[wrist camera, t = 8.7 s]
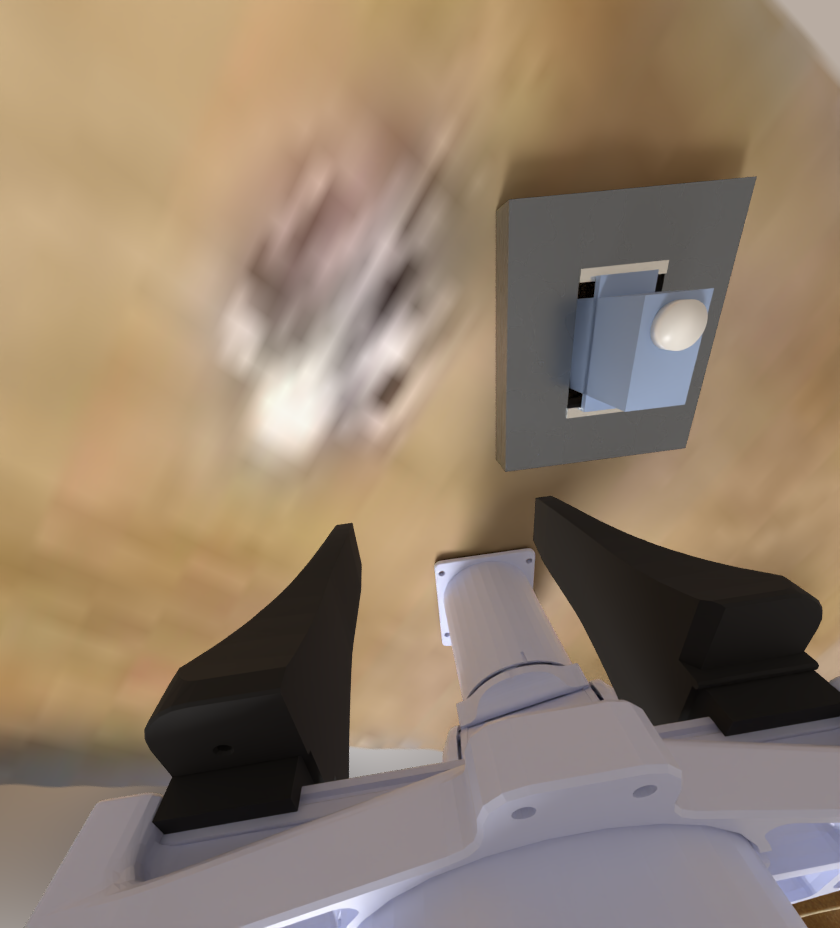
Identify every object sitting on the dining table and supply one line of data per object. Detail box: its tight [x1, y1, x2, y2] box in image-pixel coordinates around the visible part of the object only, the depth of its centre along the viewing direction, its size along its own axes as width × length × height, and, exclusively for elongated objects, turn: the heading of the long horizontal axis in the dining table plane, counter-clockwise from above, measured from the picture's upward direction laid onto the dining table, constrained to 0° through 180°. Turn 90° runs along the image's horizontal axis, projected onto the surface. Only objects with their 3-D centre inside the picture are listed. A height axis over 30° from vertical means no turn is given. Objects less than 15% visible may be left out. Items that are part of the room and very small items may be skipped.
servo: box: [569, 269, 714, 412], centre depth 17 cm, size 7×3×7 cm, turn 5°
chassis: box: [496, 176, 757, 472], centre depth 19 cm, size 14×12×2 cm
